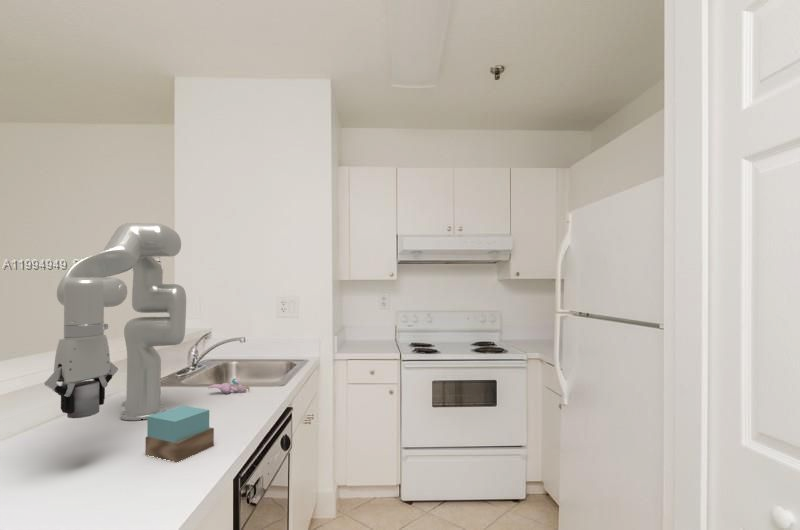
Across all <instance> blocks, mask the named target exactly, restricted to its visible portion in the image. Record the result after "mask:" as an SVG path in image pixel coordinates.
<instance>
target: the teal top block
mask: <svg viewBox="0 0 800 530" xmlns="http://www.w3.org/2000/svg"><path fill="white" fill-rule="evenodd" d="M146 427H147V431H146V432H147V434H146V437H151V438H156V439H160V440H164V441H169V442H173V443H176V442H178V441H181V440H183V439H186V438H188V437H191V436H194V435H196V434H199V433H201V432H204V431H206V430H209V427H210V410H209V409H207V408H206V409H205V408H202V407H201V408H200V407H194V406H187V405H180V406H177V407H173V408H171V409H167V410H166V411H164V412H160V413H157V414H154V415H151V416H148V419H147V425H146Z"/></svg>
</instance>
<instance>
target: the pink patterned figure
mask: <svg viewBox="0 0 800 530" xmlns="http://www.w3.org/2000/svg"><path fill="white" fill-rule="evenodd" d="M236 380H237V378H232V379H231V383H232V384H233V385H236V386H233V387H232V385H231V383H228V382H224V383H221V384H217V383H216V384H211V385H210V386H208V387H207V388H208V389H212V388H213V389H218V390H220V392H221V393H225V394H227V393H228V394H229V393H231V391H233V392H237V393H241V394H242V393H245V392H246V390H248V391H247V392H248V393H249V392H250V386H247V385H246V386H245V385H243V384H240V383H239V381H236Z"/></svg>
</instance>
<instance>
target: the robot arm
mask: <svg viewBox="0 0 800 530" xmlns="http://www.w3.org/2000/svg"><path fill="white" fill-rule="evenodd" d="M181 248H182V240H181V236H180V235H179V233H178V232H177V231H175V230H174V229H172V228H171V227H169V226H167V225H165V224H162V223H156V222H155V223H153V222H152V223H150V222H149V223H148V222H147V223H146V222H144V223H143V222H142V223H141V222H129V223H128V222H126V223H123V224H121V225H119V227H117V228H116V229H115V231H114V233H113V234H112V236H111V237H110V239H109V240H108V242H107V244H106V245H105V247H104V249H103V250H100V251H97V252H95V253H93V254H91V255H89V256H86V257H85V258H84V257H83V259H80V260H79V261H77V262H75V263H74V264H73V265H70V267H69V268H68V269H67V271H66V272H65V274H64V275H63V277H62V279H61V280H60V281H59V282H58V286H57V289H56V298H57V300H58V302H59V303H60V304H61V305H62V306H63V338H60V339H58V344H57V347H56V352H55V356H54V365H53V373H52V374H50V376H49V377H48V379H46V380H45V382H44V386H45V387H47V388H49V389H50V390H52V392H54V393H56V394H57V395H58V396H60V410H61V411H62V413H64V414H67V413H68V414H71V413H73V412H74V396H72V395H71V393H72V391H73V388H74V386H75V383H76V382H82V381H91V380H92V381H99V406H102V405H104V404H105V399H106V398H105V397H106V388H107V387H108V383H110V381H111V380H112V378H113V376H114V375H116V373H117V372H118V370H119V368H118V367H117V366H116V365H115V364H113V363H112V362H111V358H110V356H111V355H110V347H109V342H108V339H107V336H106V334H104V333H105V330H108V329H109V324H108V323H105V322H104V317H105V316H104V315H105V313H104V311H105V308H112V307H117V306H119V305H121V304H122V303H124V301H125V300H126V298H127V295H128V287H127V284H126V282H124V281H123V280H122V279H120V278H116V277H111V276H115V275H120V274H122V273H123V274H124V273H126V272H128V271H131V270H132V272H133V273H132V274H133V276H132V288H131V289H132V290H131V292H132V293H131V307H132V309H133V310H134V311H135V312H136V313H141V314H142V313H143V314H144V313H145V314H147V313H148V314H152V313H155V314H156V313H157V314H159V313H160V314H161V313H162V314H163V313H166V314H167V313H168V315H169V316H141V317H134V318H132V319H130V320H128V321H127V322H126V323H125V325H124V327H123V328H124V329H123V335H124V340H125V347H126V348H125V349H126V400H125V401H123V402H121V403H120V406H121V407H124V411H123V412H121V413H120V415H119V417H120V419H121V420H123V421H124V420H125V421H142V420H141V419H143V420H148V416H151V415H154V414H157V413H160V412H164V411H167V410H166V407H165V406H163V405H161V386H162V385H161V383H162V381H161V380H162V373H161V372H162V358H161V356H160V354H159V352H158V351H157V350H156V349H155V348H154V347H161V346H162V347H165V346H177V345H181V344H182V343H183V341H184V339H185V334H186V321H187V320H186V318H187V294H186V289H184V287H183V286H182V285H180V284H175V283H173V284H172V283H169V284H168V283H163V278H164V277H163V275H164V273H163V272H164V271H163V270H164V269H163V268H162V266H161V264H160V263H159V262H158V261H157V259H155V258H154V257H169V258H171V257H175V256H177V255H178V254H179V253H180V251H181ZM58 383H61V384H58Z"/></svg>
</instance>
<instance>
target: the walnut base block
mask: <svg viewBox="0 0 800 530" xmlns="http://www.w3.org/2000/svg"><path fill="white" fill-rule="evenodd" d="M214 431H215V429H214V427H210V426H209V430H206V431H204V432H201V433H199V434H196V435H194V436H191V437H188V438H186V439H183V440H181V441H178V442H176V443H173V442H169V441H164V440H160V439H156V438H151V437H147V436H146V437H145V453H144V454H145V455H149V456H154V457H158V458H161V459H160V460H163V459H166V460H165V461H167V460H170V461H169V462H172V461H174V462H173V463H177V462H178V463H180V462H182V461H185V460H186V458H187V459H189V458H190V456H191V457H193V456H195V455H197V454H199V452H200V453H202V452H203V451H206V450H208V449H210V448H213V447H214V445H215V444H214V441H215V439H214V438H215V432H214ZM201 451H202V452H201ZM192 455H193V456H192ZM149 456H148V457H149ZM188 457H189V458H188ZM158 458H157V459H158ZM181 460H182V461H181ZM179 461H180V462H179Z"/></svg>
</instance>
